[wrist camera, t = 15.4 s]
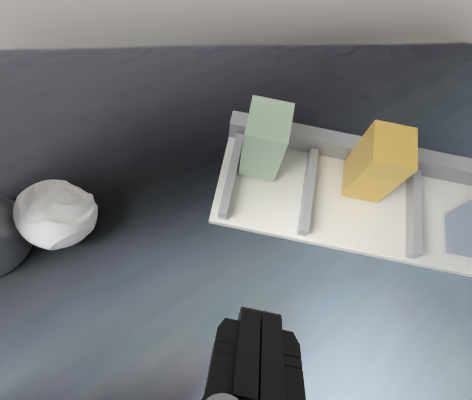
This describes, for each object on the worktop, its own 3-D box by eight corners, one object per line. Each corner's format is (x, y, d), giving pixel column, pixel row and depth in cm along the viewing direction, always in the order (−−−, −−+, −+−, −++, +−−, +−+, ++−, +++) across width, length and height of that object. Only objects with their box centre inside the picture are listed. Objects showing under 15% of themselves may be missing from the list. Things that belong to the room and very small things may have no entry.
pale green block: (273, 181, 42) (288, 143, 33) (238, 174, 42) (244, 134, 33) (279, 147, 43) (294, 103, 35) (245, 140, 44) (252, 94, 35)
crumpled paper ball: (118, 212, 40) (98, 186, 33) (80, 269, 38) (48, 254, 30) (63, 184, 41) (31, 152, 34) (21, 237, 39) (-23, 215, 31)
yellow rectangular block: (377, 202, 41) (418, 170, 33) (341, 195, 41) (373, 160, 33) (378, 167, 43) (417, 128, 35) (344, 160, 43) (375, 119, 35)
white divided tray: (496, 282, 40) (525, 277, 36) (208, 223, 41) (208, 212, 37) (486, 178, 45) (511, 165, 41) (231, 127, 46) (233, 109, 42)
